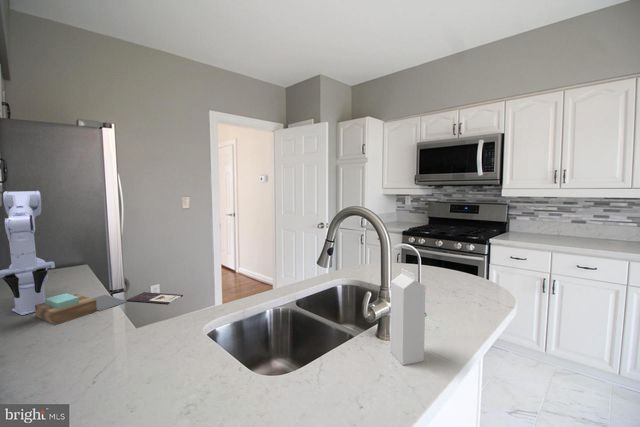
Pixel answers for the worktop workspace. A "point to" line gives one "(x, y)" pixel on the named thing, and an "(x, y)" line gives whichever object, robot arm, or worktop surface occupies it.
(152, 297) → the chocolate bar
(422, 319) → the milk
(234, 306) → the worktop surface
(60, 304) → the teal rectangular block
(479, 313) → the worktop surface
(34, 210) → the robot arm
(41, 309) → the brown flat block
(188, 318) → the worktop surface
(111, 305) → the mat
